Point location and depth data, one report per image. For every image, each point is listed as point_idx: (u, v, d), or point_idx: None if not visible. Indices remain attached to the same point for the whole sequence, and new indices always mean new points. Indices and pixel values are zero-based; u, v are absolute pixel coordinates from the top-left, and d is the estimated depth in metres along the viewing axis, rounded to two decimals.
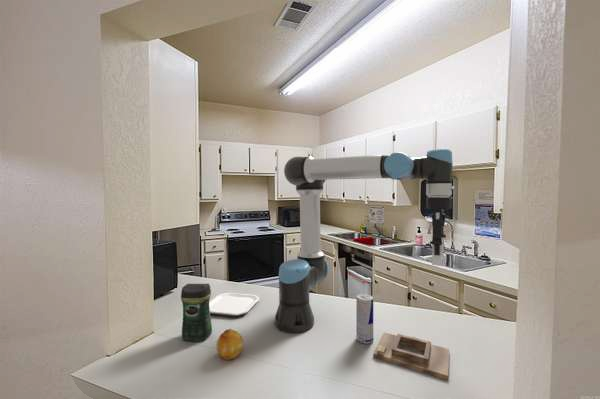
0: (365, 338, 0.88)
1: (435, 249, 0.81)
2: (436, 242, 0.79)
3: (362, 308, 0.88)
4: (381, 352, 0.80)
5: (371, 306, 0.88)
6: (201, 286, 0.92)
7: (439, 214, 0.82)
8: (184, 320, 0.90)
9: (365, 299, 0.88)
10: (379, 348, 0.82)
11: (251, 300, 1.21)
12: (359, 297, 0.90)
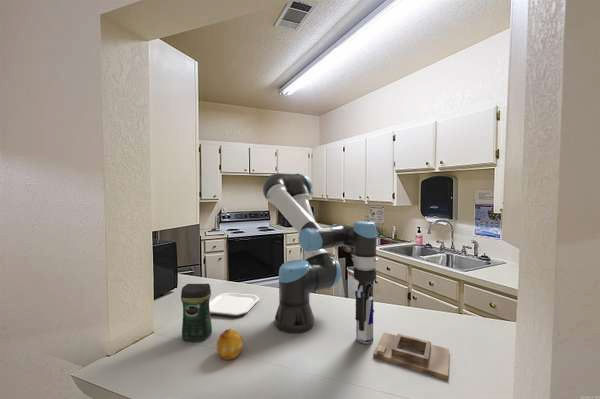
0: None
1: (359, 325, 0.87)
2: (359, 320, 0.85)
3: None
4: (381, 352, 0.80)
5: (371, 306, 0.88)
6: (201, 286, 0.92)
7: (360, 294, 0.84)
8: (184, 320, 0.90)
9: None
10: (379, 348, 0.82)
11: (251, 300, 1.22)
12: None
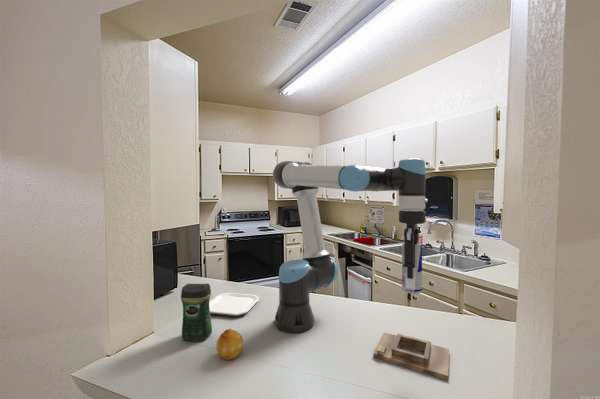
0: (415, 287, 0.78)
1: (408, 272, 0.78)
2: (408, 266, 0.76)
3: None
4: (381, 352, 0.80)
5: (420, 252, 0.79)
6: (201, 286, 0.92)
7: (410, 236, 0.75)
8: (184, 320, 0.90)
9: None
10: (379, 348, 0.82)
11: (251, 300, 1.22)
12: None
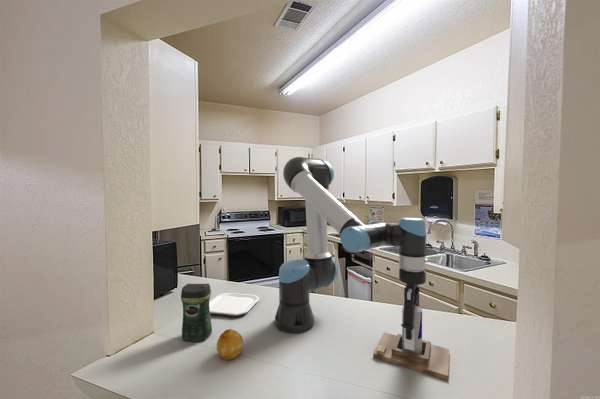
0: None
1: (407, 333, 0.76)
2: (407, 327, 0.74)
3: None
4: (381, 352, 0.80)
5: (421, 318, 0.79)
6: (201, 286, 0.92)
7: (410, 295, 0.75)
8: (184, 320, 0.90)
9: None
10: (379, 348, 0.82)
11: (251, 300, 1.22)
12: None
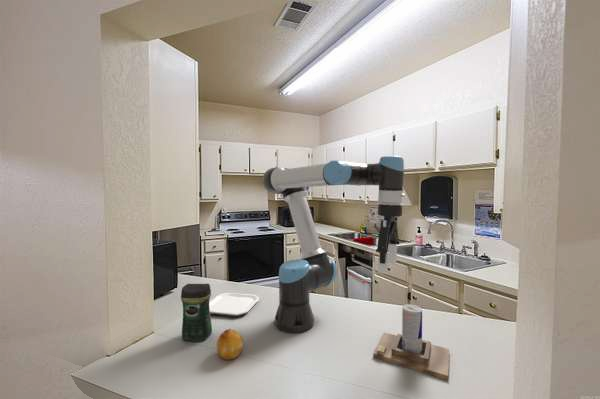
0: None
1: (380, 257, 0.81)
2: (380, 250, 0.79)
3: (411, 321, 0.79)
4: (381, 352, 0.80)
5: (421, 318, 0.79)
6: (201, 286, 0.92)
7: (386, 222, 0.81)
8: (184, 320, 0.90)
9: (414, 311, 0.79)
10: (379, 348, 0.82)
11: (251, 300, 1.22)
12: (406, 308, 0.81)
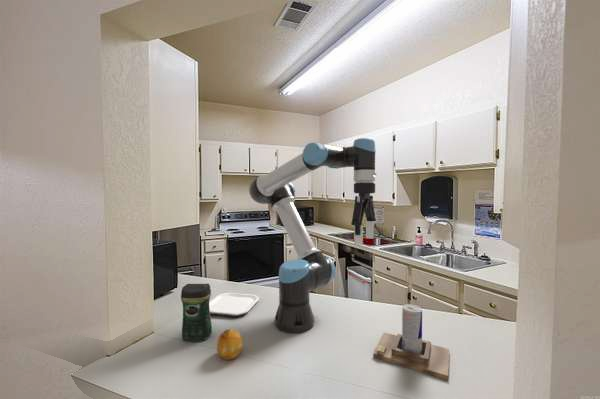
0: None
1: (355, 229, 0.89)
2: (355, 222, 0.87)
3: (410, 321, 0.79)
4: (381, 352, 0.80)
5: (421, 318, 0.79)
6: (201, 286, 0.92)
7: (360, 197, 0.89)
8: (184, 320, 0.90)
9: (414, 311, 0.79)
10: (379, 348, 0.82)
11: (251, 300, 1.22)
12: (406, 308, 0.81)
